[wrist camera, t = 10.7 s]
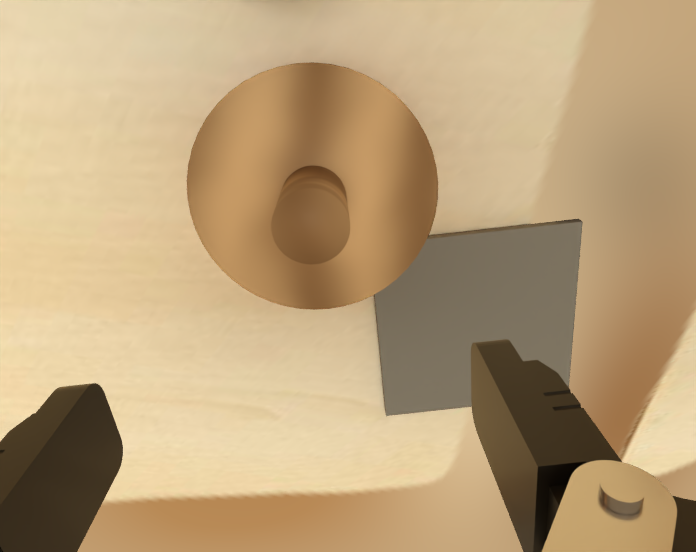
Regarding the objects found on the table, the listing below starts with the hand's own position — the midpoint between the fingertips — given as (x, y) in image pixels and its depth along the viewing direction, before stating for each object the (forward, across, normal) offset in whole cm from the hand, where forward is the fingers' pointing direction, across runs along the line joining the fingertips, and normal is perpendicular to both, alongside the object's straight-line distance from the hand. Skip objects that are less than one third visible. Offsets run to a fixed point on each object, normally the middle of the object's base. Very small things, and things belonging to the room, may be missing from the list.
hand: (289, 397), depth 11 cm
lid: (+18, 0, 0) cm, 18 cm away
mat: (+23, -10, +12) cm, 28 cm away
